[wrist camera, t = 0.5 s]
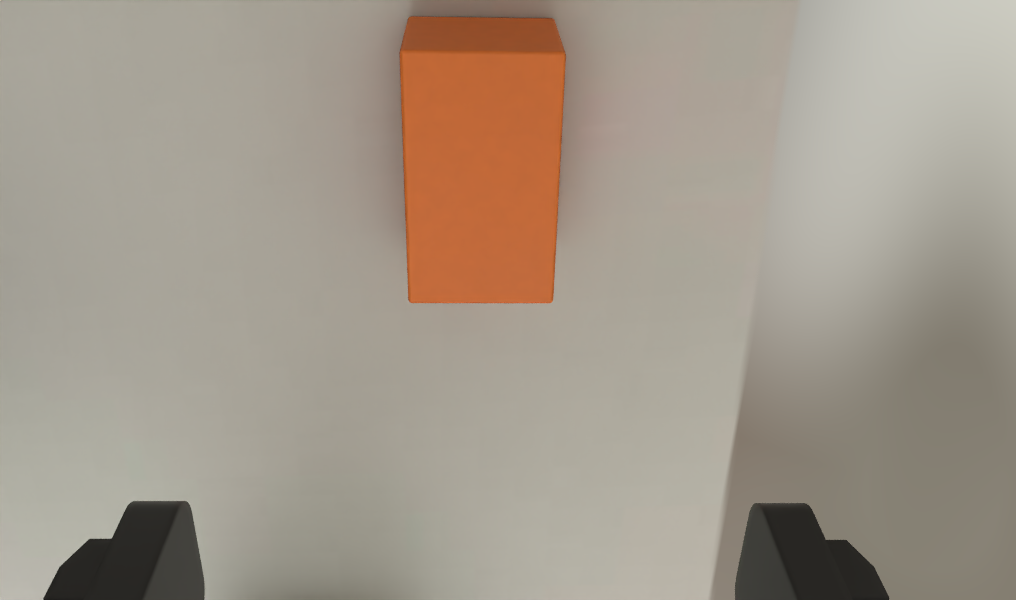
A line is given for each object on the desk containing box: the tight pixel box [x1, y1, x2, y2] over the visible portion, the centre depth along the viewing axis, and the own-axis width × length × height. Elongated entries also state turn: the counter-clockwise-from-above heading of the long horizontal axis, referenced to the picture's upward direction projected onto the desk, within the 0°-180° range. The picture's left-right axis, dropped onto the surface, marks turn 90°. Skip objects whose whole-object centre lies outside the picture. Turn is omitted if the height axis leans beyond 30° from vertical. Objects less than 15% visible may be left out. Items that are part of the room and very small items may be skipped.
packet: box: [400, 17, 566, 303], centre depth 26 cm, size 7×4×4 cm, turn 179°
